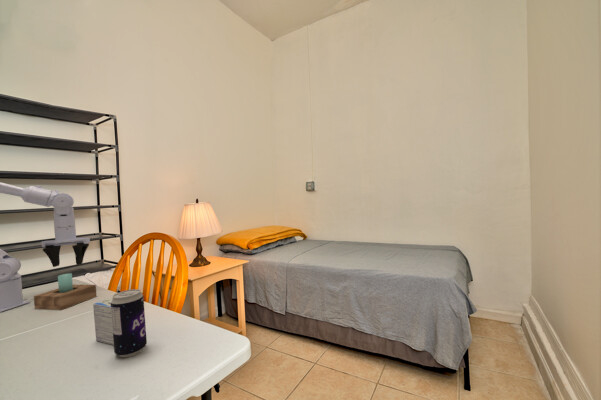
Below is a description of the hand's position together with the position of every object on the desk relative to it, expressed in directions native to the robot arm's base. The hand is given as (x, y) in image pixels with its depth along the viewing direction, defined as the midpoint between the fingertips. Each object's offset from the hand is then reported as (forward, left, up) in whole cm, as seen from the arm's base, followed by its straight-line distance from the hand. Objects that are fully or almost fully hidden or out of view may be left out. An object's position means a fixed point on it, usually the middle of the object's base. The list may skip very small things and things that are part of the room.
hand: (67, 265), depth 99 cm
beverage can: (+56, -30, -11) cm, 64 cm away
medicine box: (+48, -26, -11) cm, 56 cm away
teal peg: (+8, -7, -9) cm, 14 cm away
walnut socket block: (+8, -7, -10) cm, 15 cm away
